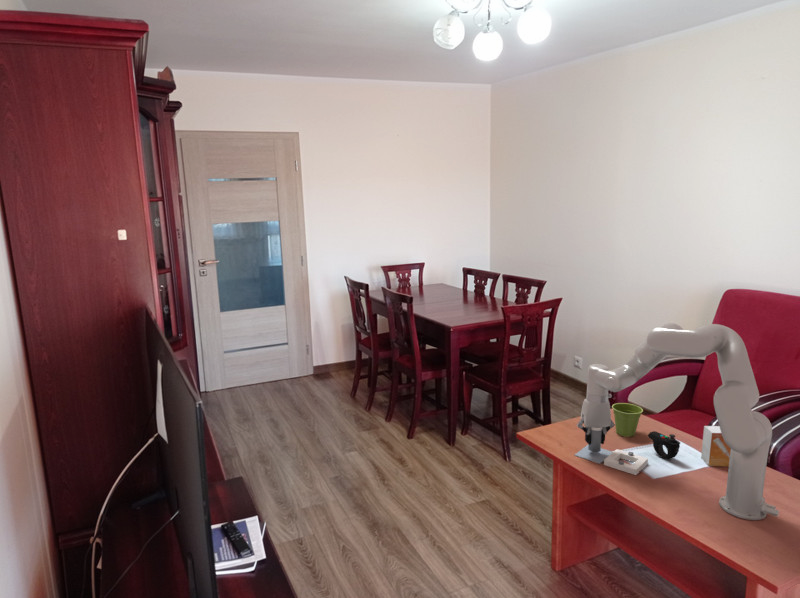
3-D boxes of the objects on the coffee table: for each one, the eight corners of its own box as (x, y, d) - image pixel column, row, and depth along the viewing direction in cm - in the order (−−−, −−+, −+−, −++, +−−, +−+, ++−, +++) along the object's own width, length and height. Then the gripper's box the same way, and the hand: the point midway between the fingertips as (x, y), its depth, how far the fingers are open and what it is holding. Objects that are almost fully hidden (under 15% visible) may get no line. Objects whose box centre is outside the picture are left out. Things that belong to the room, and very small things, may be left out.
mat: (613, 452, 207) (613, 451, 206) (600, 463, 198) (600, 463, 198) (588, 444, 213) (588, 444, 213) (574, 455, 205) (574, 454, 205)
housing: (647, 463, 198) (648, 456, 197) (635, 475, 190) (636, 467, 189) (616, 453, 206) (616, 447, 205) (603, 464, 197) (604, 457, 197)
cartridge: (598, 446, 208) (599, 422, 206) (602, 452, 203) (604, 427, 201) (586, 446, 207) (587, 422, 206) (590, 452, 203) (591, 427, 201)
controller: (672, 465, 196) (674, 439, 195) (645, 450, 208) (646, 426, 206) (680, 462, 198) (683, 437, 196) (653, 448, 209) (655, 424, 207)
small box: (708, 466, 195) (711, 432, 193) (700, 458, 201) (703, 425, 199) (732, 467, 194) (735, 433, 192) (723, 458, 200) (726, 425, 198)
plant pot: (646, 440, 217) (647, 413, 215) (616, 440, 217) (617, 413, 215) (634, 427, 228) (636, 402, 226) (606, 427, 229) (607, 402, 227)
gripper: (615, 393, 205) (612, 438, 209) (571, 394, 205) (569, 439, 208) (623, 400, 198) (620, 446, 201) (578, 401, 198) (576, 448, 201)
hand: (594, 442), depth 205 cm, fingers closed on cartridge, 4 cm apart
